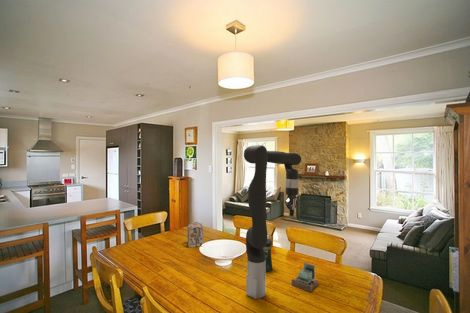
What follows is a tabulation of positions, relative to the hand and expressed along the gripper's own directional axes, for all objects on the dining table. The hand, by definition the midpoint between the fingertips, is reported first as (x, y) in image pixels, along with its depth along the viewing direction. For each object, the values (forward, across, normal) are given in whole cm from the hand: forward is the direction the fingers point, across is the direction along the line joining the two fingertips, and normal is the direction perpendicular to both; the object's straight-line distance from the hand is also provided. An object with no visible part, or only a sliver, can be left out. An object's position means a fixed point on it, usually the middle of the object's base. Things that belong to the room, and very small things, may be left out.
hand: (291, 215), depth 139 cm
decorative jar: (+36, -7, +81) cm, 89 cm away
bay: (+35, -6, -11) cm, 37 cm away
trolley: (+35, -4, -11) cm, 37 cm away
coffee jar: (+35, -5, +16) cm, 39 cm away
